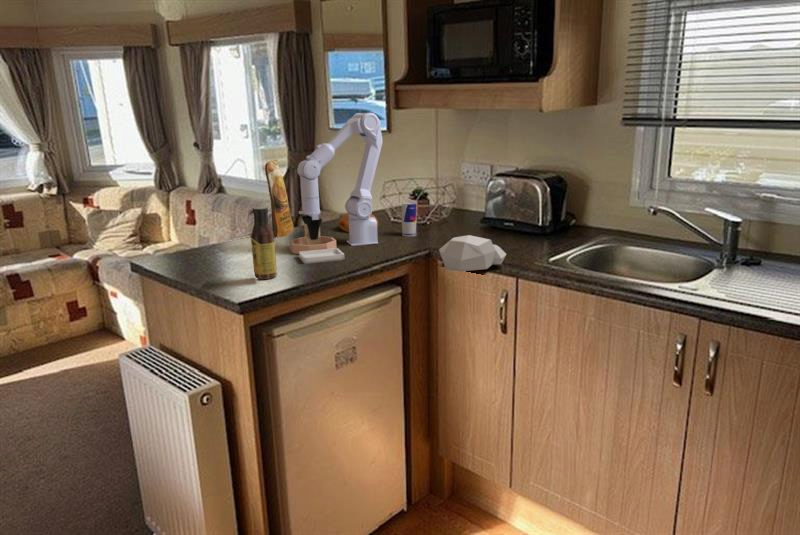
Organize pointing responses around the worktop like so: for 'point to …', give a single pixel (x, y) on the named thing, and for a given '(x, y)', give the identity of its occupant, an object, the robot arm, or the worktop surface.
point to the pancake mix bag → (278, 200)
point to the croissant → (345, 222)
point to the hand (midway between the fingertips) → (312, 238)
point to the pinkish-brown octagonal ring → (300, 245)
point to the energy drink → (409, 219)
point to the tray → (321, 255)
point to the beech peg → (308, 239)
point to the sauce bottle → (263, 245)
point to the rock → (470, 253)
